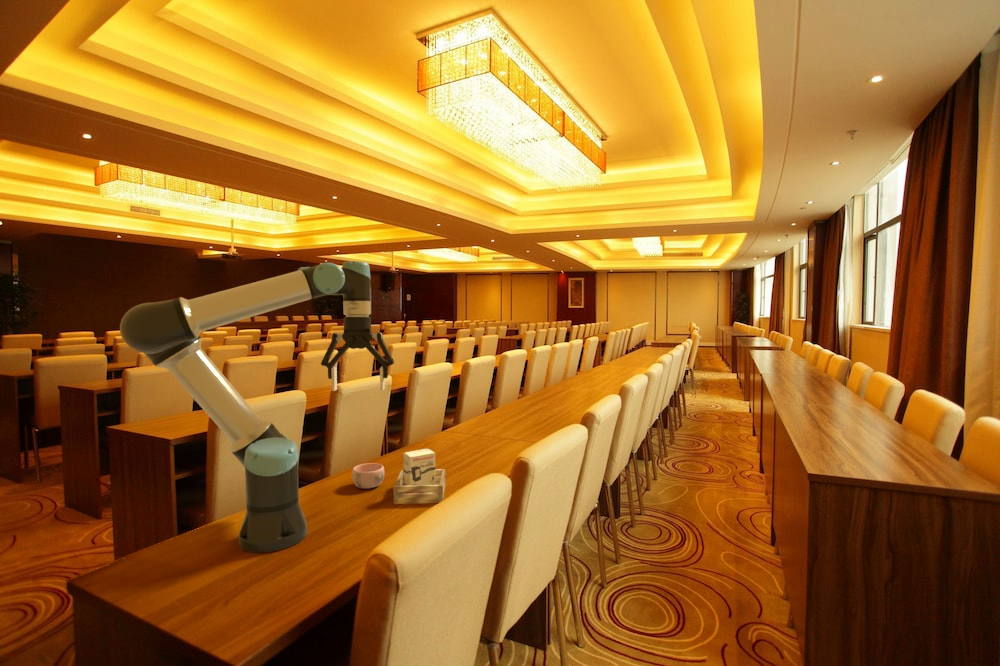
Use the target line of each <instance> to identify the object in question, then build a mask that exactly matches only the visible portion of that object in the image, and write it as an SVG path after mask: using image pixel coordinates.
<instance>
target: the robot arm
mask: <svg viewBox="0 0 1000 666" xmlns="http://www.w3.org/2000/svg"><path fill="white" fill-rule="evenodd" d="M371 277H372V276H371V270H370V264H369V263H368V262H365V261H359V260H350V261H349V260H348V261H347V260H346V261H344V262H343V263H342V266H341V267H340V266H339V265H337V264H336V263H333V262H327V261H326V262H322V263H319V264H318V265H315V266H305V267H304V266H301V267H299V268H297V270H295V271H292V272H288V273H285V274H281V275H277V276H273V277H269V278H266V279H262V280H257V281H256V282H251V283H248V284H243V285H240V286H236V287H233V288H229V289H225V290H221V291H217V292H213V293H210V294H205V295H202V296H198V297H195V298H194V297H193V298H190V299H187V298H184V297H182V296H180V297H178V298H176V297H175V298H173V299H168V300H163V301H156V302H144V303H140V304H137V305H135V306H133V307H131V308H130V309H128V310H127V312H125V314H124V315H123V316H122V318H121V320H120V323H119V331H120V335H121V338H122V340H123V342H124V343H125V345H127V346H128V347H129V348H131V349H132V350H134V351H136V352H139V353H143V354H144V355H145V356H146V357H147V358H148V359H149V361H150V362H151V363H152V364H153V365H154V366H155V367H156V368H161V369H166V370H168V371H169V372H170V373H171V374H172V376H173V377H174V378H175V379H176V380H177V382H178V383H180V385H181V387H183V388H184V389H185V390H186V392H187V393H188V394H189V395H190V396H191V397H192V399H193V400H194V402H196V403H197V404H198V405H199V407H200V408H202V410H203V411H204V412H205V414H206V415H208V417H209V418H210V419H211V420H212V422H214V424H215V425H216V426H217V427H218V428H219V429H220V430H221V432H222V433H223V434H224V435H225V436H226V438H227V439H228V440H230V442H231V444H230V450H229V451H230V452H231V453H232V454H233V456H234V457H235V458H236V459H237V460H238V461H239V462H240V463H241V464H242V466H243V467H244V468H245V470H244V471H245V474H244V475H245V477H244V478H245V502H246V503H245V504H246V505H245V506H246V511H245V514H244V519H243V521H242V524H241V528H240V531H239V532H238V533H239V534H238V545H239V546H238V547H239V548H240V549H241V550H243V551H245V552H249V553H256V554H258V553H259V554H261V553H270V552H276V551H280V550H284V549H287V548H290V547H292V546H294V545H297V544H298V543H300V542H301V541H303V540H304V539H305V537H306V536H307V535H308V523H307V520H306V518H305V514H304V513H303V510H302V507H301V506H300V498H299V497H300V494H299V492H300V491H299V463H298V462H299V451H298V445H297V443H296V442H295V441H294V440H292V439H289V438H288V437H286V435H284V434H283V433H281V431H279V429H278V428H277V427H276V426H275V425H274V424H273V423H272V421H270V420H264V419H261V417H259V416H258V414H257V413H256V412H255V411H254V410H253V409H252V408H251V406H250V405H249V403H247V401H246V400H245V399H244V397H243V396H242V395H241V394H240V393H239V392H238V391H237V389H236V388H235V387H234V386H233V384H232V383H231V382H230V381H229V380H228V379H227V377H226V376H225V375H224V374H223V372H222V371H221V370H220V369H219V368H218V367H217V365H216V364H215V363H214V361H212V359H211V358H210V357H209V356H208V355H207V354H206V352H205V351H204V350H203V349H202V343H203V342H202V340H203V338H202V337H201V336H200V334H201V333H202V332H204V331H208V330H211V329H215V328H218V327H222V326H224V325H228V324H232V323H235V322H236V323H237V322H238V321H242V320H245V319H246V320H247V319H248V318H252V317H255V316H258V315H262V314H265V313H268V312H272V311H276V310H279V309H282V308H286V307H290V306H291V305H295V304H298V303H302V302H305V301H309V300H312V299H316V298H320V297H323V296H342V297H343V301H342V302H343V303H342V304H343V306H342V307H343V315H345V317H343V333H338V332H335V333H332V335H331V341H330V343H329V346H328V348H327V350H326V352H325V354H324V356H323V357H322V360H321V362H320V365H321V366H323V367H326V368H327V378H328V379H329V380H331V391H332V392H335V391H337V390H338V370H337V369H338V366H335V365H336V364H337V362H338V361H340V359H341V358H342V357H343V355H344V354H345V353H346V352H347V351H348V350H349V349H351V350H355V349H359V350H361V349H362V350H363V349H366V350H367V351H369V353H370V354H371V355H372V356H373V357H374V358H375V360H377V361H378V362H379V364H380V365H381V367H380V368H379V383H380V385H379V389H380V390H379V391H384V390H385V389H386V386H385V379H388V377H389V367H390V366H393V365H394V364H395V360H394V358H393V356H392V354H391V352H390V350H389V348H388V347H387V344H386V343H385V340H384V336H383V333H382V332H377V333H372V318H371V314H372V307H371V306H372V304H371V280H372V278H371ZM373 339H374V340H375V341H376V342H377V343H378V346H379V347H380V350H381V351H382V353H383V355H384V357H385V358H384V357H383V356H382V355H381V354H380V353H379V352H378V350H377V349H376V348H375V347H374V345H373V344H372V340H373ZM341 340H343V341H344V342H345V343H344V344H343V345H342V347H341V348H340V349H339V351H338V352H337V353H336V354H335V356H334V357H333V358H332V359H331V357H332V356H333V353H334V351H335V350H336V349H335V348H336V347H337V345H338V343H339V341H341Z"/></svg>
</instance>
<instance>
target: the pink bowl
mask: <svg viewBox="0 0 1000 666" xmlns="http://www.w3.org/2000/svg"><path fill="white" fill-rule="evenodd" d="M384 478H385V467H384V465H382V464H380V463H376V462H370V463H369V462H368V463H362V464H358V465H355V466H354V467H353V468H352V470H351V479H352V482H353V483H354V485H355V486H356V487H357V488H359V489H373V488H375V487H379V486H380V485H381V484H382V483H383V480H384Z"/></svg>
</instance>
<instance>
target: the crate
mask: <svg viewBox="0 0 1000 666" xmlns="http://www.w3.org/2000/svg"><path fill="white" fill-rule="evenodd" d="M446 485H447V483H446V468H437V469H436V468H435V485H408V486H404V469H401V470H400V472H399V474H398V477H397V478H396V482H395V483H394V485H393V504H394V505H401V504H402V505H408V504H409V505H411V504H415V505H416V504H440V503H439V502H440V501H442V500H443V501H444V498H445V490H446ZM427 491H428V492H427ZM406 492H424V493H415V494H407V493H406Z"/></svg>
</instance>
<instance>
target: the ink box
mask: <svg viewBox="0 0 1000 666" xmlns="http://www.w3.org/2000/svg"><path fill="white" fill-rule="evenodd" d="M402 454H403V455H402V456H403V470H404V486H408V485H435V477H436V475H435V469H436V452H434V451H433V450H431V449H429V448H422V449H418V450H417V449H416V450H411V451H406V452H404V453H402ZM427 492H428V491H427ZM406 493H407V494H415V493H424V492H406Z"/></svg>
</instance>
